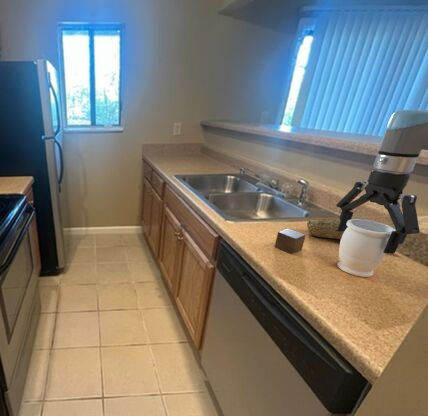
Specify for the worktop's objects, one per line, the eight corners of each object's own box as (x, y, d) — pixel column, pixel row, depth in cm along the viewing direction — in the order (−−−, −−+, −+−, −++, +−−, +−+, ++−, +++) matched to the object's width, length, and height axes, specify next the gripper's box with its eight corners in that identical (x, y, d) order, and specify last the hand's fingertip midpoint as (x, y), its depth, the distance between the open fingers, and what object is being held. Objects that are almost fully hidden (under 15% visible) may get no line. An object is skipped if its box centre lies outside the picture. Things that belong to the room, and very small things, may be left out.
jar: (350, 258, 90) (365, 217, 85) (387, 276, 81) (406, 231, 75) (324, 263, 88) (337, 220, 83) (358, 282, 79) (376, 235, 73)
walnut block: (301, 250, 96) (306, 234, 94) (291, 254, 93) (295, 238, 91) (284, 242, 101) (288, 228, 99) (274, 246, 98) (277, 231, 96)
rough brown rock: (309, 241, 104) (382, 244, 93) (308, 221, 103) (382, 221, 92) (305, 234, 115) (370, 235, 104) (305, 216, 114) (370, 215, 103)
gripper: (335, 161, 84) (316, 224, 92) (438, 184, 61) (401, 265, 69) (356, 161, 85) (336, 222, 93) (465, 183, 62) (426, 262, 70)
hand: (363, 241), depth 81 cm, fingers open, 13 cm apart
